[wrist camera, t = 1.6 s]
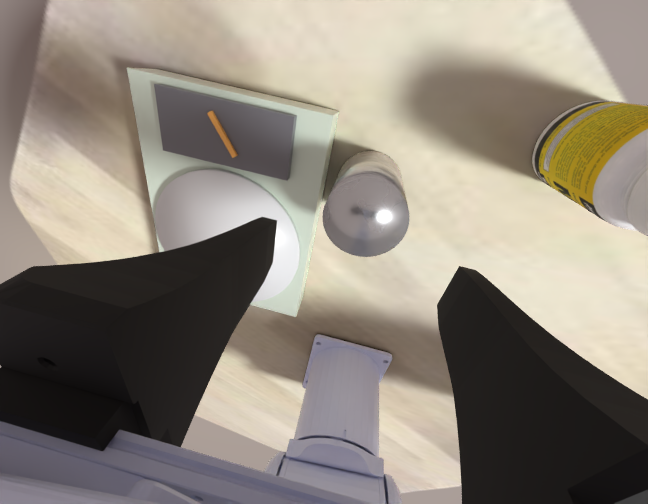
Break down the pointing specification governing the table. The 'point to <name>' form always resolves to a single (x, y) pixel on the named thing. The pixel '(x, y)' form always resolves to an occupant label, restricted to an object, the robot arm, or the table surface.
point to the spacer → (367, 206)
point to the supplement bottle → (599, 160)
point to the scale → (234, 169)
